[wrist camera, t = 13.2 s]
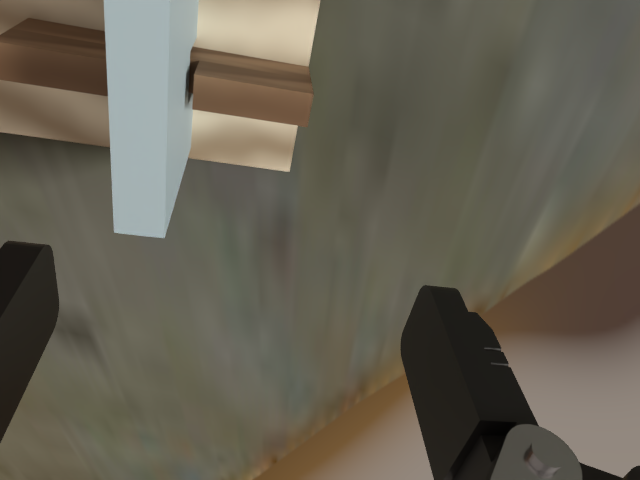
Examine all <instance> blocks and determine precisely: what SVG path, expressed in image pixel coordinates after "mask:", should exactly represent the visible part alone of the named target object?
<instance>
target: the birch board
mask: <svg viewBox="0 0 640 480" xmlns="http://www.w3.org/2000/svg"><path fill="white" fill-rule="evenodd" d="M319 5H320V0H199V3H198V22H197V38H196V40H195V42H194V45H193V47H199V48H204V49H210V50H216V51H221V52H227V53H233V54H239V55H244V56H250V57H256V58H261V59H267V60H273V61H279V62H284V63H290V64H296V65H301V66H307V67H308V66H309V61H310V55H311V49H312V44H313V38H314V33H315V27H316V22H317V16H318V11H319ZM27 18H33V19H38V20H44V21H50V22H56V23H61V24H67V25H73V26H78V27H84V28H90V29H96V30H101V31H105V19H104V0H0V35H1V34H2V33H4V32H6V31H7V30H9V29H11V28H12V27H14V26H16V25H17V24H19V23H21V22H22V21H24V20H26V19H27ZM297 127H298V126H297V125H290V124H284V123H277V122H271V121H264V120H258V119H251V118H245V117H238V116H232V115H225V114H219V113H212V112H206V111H199V110H193V117H192V136H191V149H190V152H189V156H188V158H193V159H200V160H207V161H215V162H222V163H229V164H236V165H244V166H251V167H258V168H266V169H273V170H280V171H287V172H289V171H290V166H291V160H292V155H293V149H294V144H295V138H296V132H297ZM0 132H3V133H11V134H18V135H25V136H32V137H40V138H47V139H54V140H62V141H69V142H76V143H83V144H91V145H98V146H105V147H110V130H109V107H108V96H101V95H95V94H88V93H82V92H75V91H69V90H62V89H56V88H49V87H43V86H36V85H30V84H23V83H17V82H10V81H4V80H0Z"/></svg>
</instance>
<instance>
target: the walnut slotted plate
mask: <svg viewBox="0 0 640 480" xmlns="http://www.w3.org/2000/svg"><path fill="white" fill-rule="evenodd" d="M0 80H4V81H10V82H17V83H23V84H30V85H36V86H43V87H49V88H56V89H62V90H69V91H75V92H82V93H88V94H95V95H101V96H108V85H107V63H106V41H105V31H101V30H96V29H90V28H84V27H78V26H73V25H67V24H61V23H56V22H50V21H44V20H38V19H33V18H27V19H26V20H24V21H22V22H21V23H19V24H17V25H16V26H14V27H12V28H11V29H9V30H7V31H6V32H4V33H2V34H1V35H0ZM189 93H193V104H192V109H193V110H199V111H206V112H212V113H219V114H225V115H232V116H238V117H245V118H251V119H258V120H264V121H271V122H277V123H284V124H290V125H297V126H303V127H307V126H308V121H309V116H310V110H311V105H312V100H313V95H314V93H313V88H312V83H311V78H310V73H309V67H307V66H301V65H296V64H290V63H284V62H279V61H273V60H267V59H261V58H256V57H250V56H244V55H239V54H233V53H227V52H221V51H216V50H210V49H204V48H199V47H192V49H191V51H190V71H189Z"/></svg>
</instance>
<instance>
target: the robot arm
mask: <svg viewBox="0 0 640 480" xmlns="http://www.w3.org/2000/svg"><path fill="white" fill-rule="evenodd" d="M58 311H59V296H58V289H57V281H56V273H55V265H54V257H53V251H52V248H51V247H50V245H45V244H35V243H26V242H16V241H7V242H6V243H4V245H3V246H2V247H1V249H0V443H1V440H2V438H3V436H4V434H5V432H6V430H7V428H8V426H9V424H10V421H11V419H12V417H13V415H14V413H15V411H16V409H17V407H18V405H19V402H20V400H21V398H22V396H23V394H24V392H25V390H26V388H27V385H28V383H29V381H30V379H31V377H32V375H33V373H34V371H35V369H36V366H37V364H38V362H39V360H40V358H41V356H42V354H43V352H44V350H45V347H46V345H47V343H48V341H49V339H50V337H51V335H52V333H53V330H54V328H55V325H56V322H57V317H58ZM401 357H402V361H403V365H404V369H405V372H406V376H407V380H408V384H409V387H410V391H411V395H412V399H413V402H414V406H415V410H416V414H417V417H418V421H419V424H420V428H421V432H422V436H423V440H424V443H425V447H426V451H427V455H428V458H429V462H430V466H431V470H432V473H433V477H434V480H640V466H636V467H634V468H633V469H631V471H630V472H628V473H627V475H626V476H625V477H624V478H621V477H618V476H615V475H612V474H610V473H607V472H604V471H601V470H598V469H596V468H593V467H590V466H587V465H584V464H582V463H580V462H579V461H578V459H577V457H576V456H575V454H574V453H573V451H572V450H571V449H570V448H569V446H568V445H567V444H566V443H565V442H564V441H563V440H561V439H560V438H559V437H558V436H556V435H555V434H553V433H552V432H550V431H548V430H546V429H544V428H542V427H539V425H538V424H537V421H536V419H535V417H534V415H533V413H532V411H531V409H530V407H529V405H528V403H527V401H526V399H525V397H524V394H523V392H522V390H521V388H520V386H519V384H518V382H517V380H516V378H515V376H514V374H513V372H512V369H511V368H510V367H508V361H507V359H506V357H505V355H504V353H503V352H501V347H500V344H499V342H498V340H497V338H496V336H495V334H494V332H493V330H492V329H491V328H490V327H489V326H488V324H486V322H485V321H484V320H483V319H482V318H481V317H480V316H479V315H478V314H477V313H476V312H468V310H467V308H466V306H465V303H464V301H463V299H462V297H461V294H460V292H459V291H458V290H457V289H455V288H446V287H437V286H427V285H425V286H423V287H422V288H421V289H420V291H419V293H418V296H417V298H416V301H415V303H414V305H413V308H412V310H411V313H410V315H409V318H408V320H407V323H406V325H405V327H404V330H403V333H402V337H401Z"/></svg>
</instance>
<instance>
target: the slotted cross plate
mask: <svg viewBox="0 0 640 480" xmlns="http://www.w3.org/2000/svg"><path fill="white" fill-rule="evenodd" d="M198 3H199V0H104V19H105V41H106V63H107V85H108V107H109V130H110V152H111V174H112V196H113V218H114V233H121V234H130V235H140V236H149V237H158V238H165V235H166V231H167V228H168V224H169V221H170V217H171V214H172V211H173V207H174V204H175V200H176V197H177V193H178V190H179V187H180V183H181V180H182V176H183V173H184V169H185V166H186V163H187V159H188V156H189V152H190V149H191V136H192V117H193V109H192V104H193V93H189V71H190V51H191V49H192V47H193V45H194V42H195V40H196V38H197V22H198Z"/></svg>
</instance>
